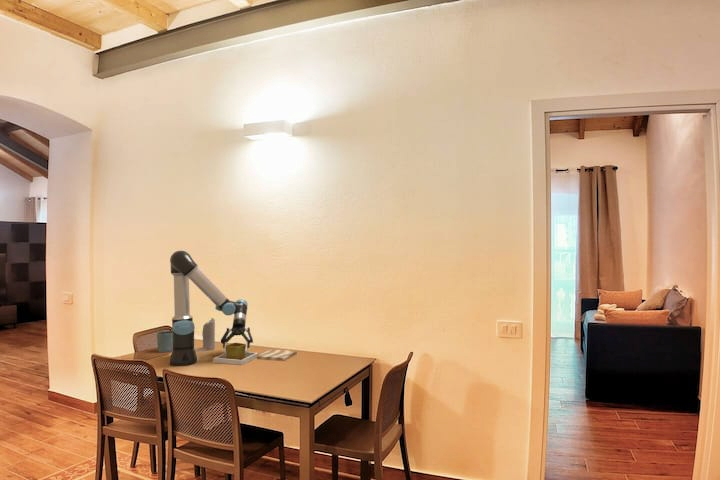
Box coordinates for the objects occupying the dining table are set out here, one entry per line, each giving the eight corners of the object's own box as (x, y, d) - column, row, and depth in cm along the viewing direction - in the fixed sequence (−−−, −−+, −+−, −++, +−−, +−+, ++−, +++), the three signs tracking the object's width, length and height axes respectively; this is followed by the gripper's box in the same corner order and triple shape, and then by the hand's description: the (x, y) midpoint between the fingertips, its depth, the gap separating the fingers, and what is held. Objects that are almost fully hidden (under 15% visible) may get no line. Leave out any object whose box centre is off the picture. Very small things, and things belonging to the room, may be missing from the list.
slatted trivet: (257, 358, 266) (257, 356, 266) (270, 351, 283) (270, 349, 283) (284, 360, 261) (284, 358, 261) (296, 353, 278) (296, 351, 278)
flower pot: (246, 358, 265) (246, 343, 266) (237, 362, 257) (237, 346, 258) (234, 357, 269) (235, 342, 269) (225, 360, 261) (225, 345, 261)
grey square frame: (212, 362, 257) (212, 358, 257) (230, 354, 275) (230, 350, 275) (242, 364, 252) (242, 360, 252) (258, 356, 270) (258, 352, 270)
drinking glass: (153, 351, 282) (153, 333, 283) (164, 348, 292) (164, 330, 292) (166, 353, 280) (166, 334, 280) (177, 349, 289) (177, 331, 289)
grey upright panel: (192, 349, 290) (192, 318, 290) (214, 347, 294) (214, 317, 294) (191, 351, 283) (191, 320, 283) (214, 350, 287) (214, 319, 288)
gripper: (259, 324, 280) (256, 355, 265) (220, 325, 278) (215, 356, 262) (258, 317, 275) (255, 348, 260) (218, 318, 272) (213, 349, 257)
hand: (235, 352), depth 261 cm, fingers closed on flower pot, 11 cm apart
